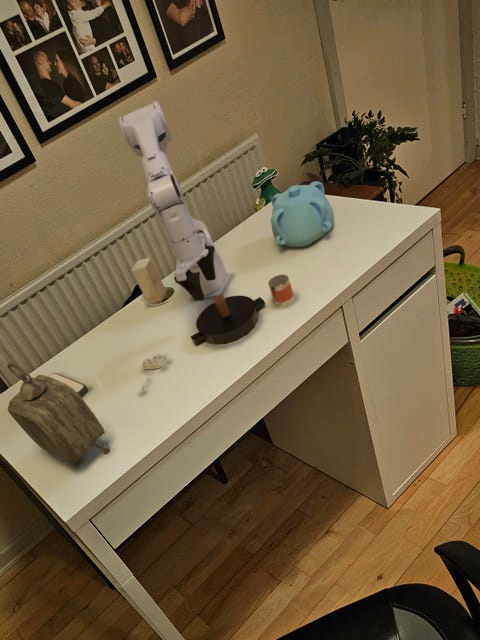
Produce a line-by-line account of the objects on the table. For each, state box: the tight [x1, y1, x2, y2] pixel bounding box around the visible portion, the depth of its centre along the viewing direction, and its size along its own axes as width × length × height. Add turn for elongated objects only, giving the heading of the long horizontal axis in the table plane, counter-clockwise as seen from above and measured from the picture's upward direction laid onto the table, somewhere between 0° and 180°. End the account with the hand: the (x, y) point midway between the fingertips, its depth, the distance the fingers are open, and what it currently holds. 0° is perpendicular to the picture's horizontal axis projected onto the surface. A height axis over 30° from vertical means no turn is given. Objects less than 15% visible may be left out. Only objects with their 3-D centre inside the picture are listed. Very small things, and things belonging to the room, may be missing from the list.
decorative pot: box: [270, 181, 335, 248], centre depth 142 cm, size 16×16×14 cm
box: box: [130, 257, 167, 305], centre depth 146 cm, size 5×4×11 cm
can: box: [267, 274, 295, 307], centre depth 127 cm, size 5×5×6 cm
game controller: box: [141, 353, 168, 391], centre depth 124 cm, size 6×12×3 cm, turn 2°
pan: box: [190, 296, 266, 346], centre depth 127 cm, size 14×19×3 cm
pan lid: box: [195, 294, 257, 337], centre depth 124 cm, size 15×15×6 cm
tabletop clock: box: [6, 361, 110, 463], centre depth 105 cm, size 14×9×25 cm, turn 52°
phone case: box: [47, 372, 88, 398], centre depth 132 cm, size 9×2×16 cm
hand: (205, 289), depth 123 cm, fingers open, 7 cm apart
